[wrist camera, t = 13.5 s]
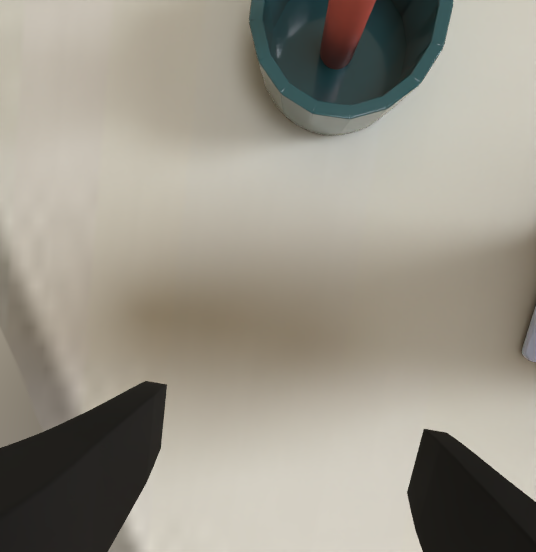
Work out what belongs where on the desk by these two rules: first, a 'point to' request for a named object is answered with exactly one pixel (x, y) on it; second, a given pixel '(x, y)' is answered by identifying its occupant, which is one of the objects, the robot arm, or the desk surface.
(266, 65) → the cup
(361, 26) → the red cylinder rod
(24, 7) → the desk surface
